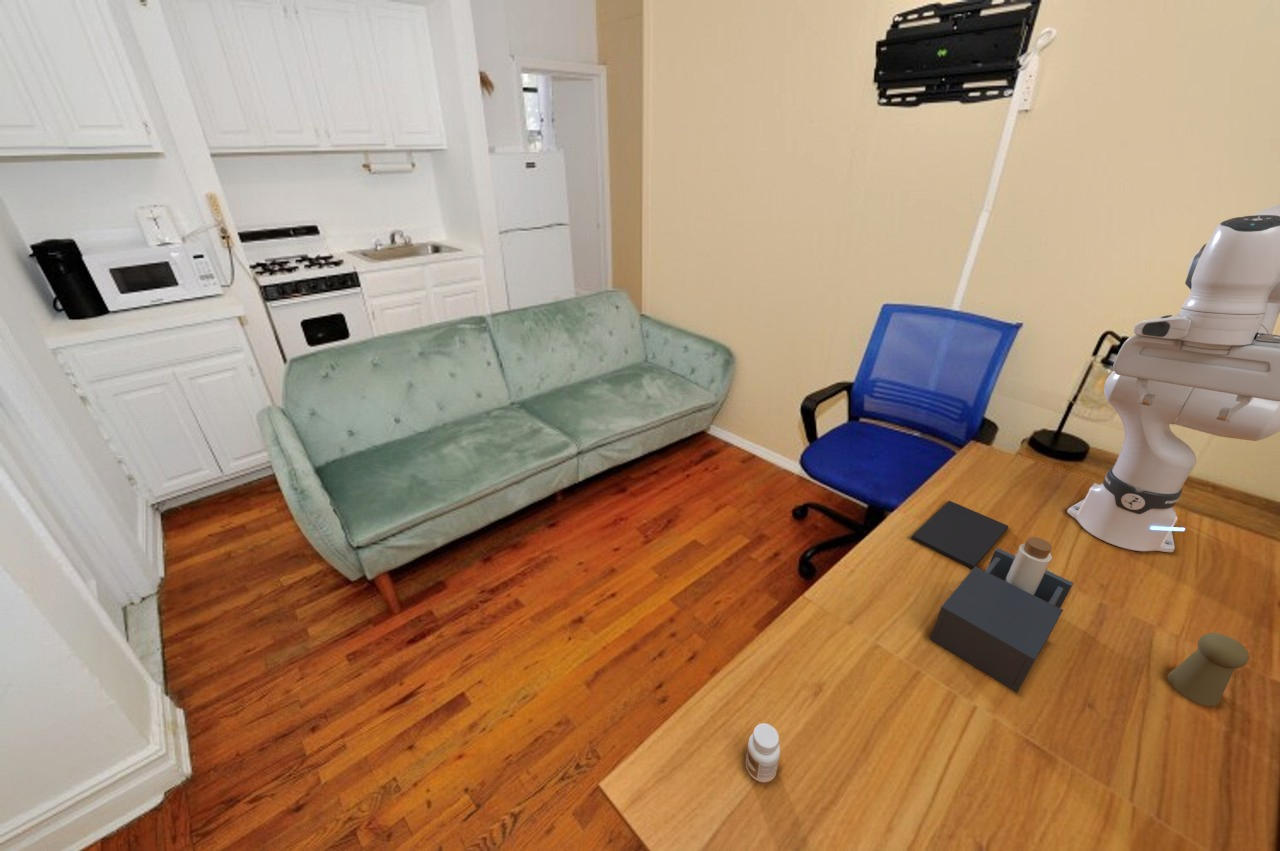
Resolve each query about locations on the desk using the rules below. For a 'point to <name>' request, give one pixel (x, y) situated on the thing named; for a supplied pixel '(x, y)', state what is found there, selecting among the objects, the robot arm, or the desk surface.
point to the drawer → (1049, 587)
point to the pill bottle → (763, 753)
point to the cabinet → (995, 627)
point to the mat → (960, 534)
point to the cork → (1208, 669)
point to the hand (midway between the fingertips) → (1182, 412)
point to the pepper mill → (1030, 564)
